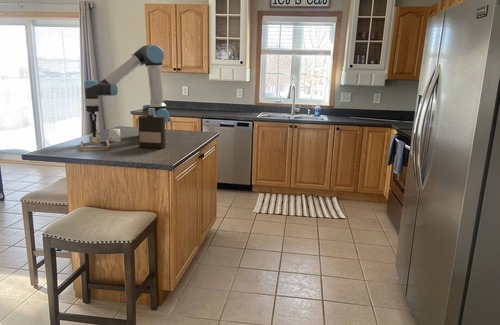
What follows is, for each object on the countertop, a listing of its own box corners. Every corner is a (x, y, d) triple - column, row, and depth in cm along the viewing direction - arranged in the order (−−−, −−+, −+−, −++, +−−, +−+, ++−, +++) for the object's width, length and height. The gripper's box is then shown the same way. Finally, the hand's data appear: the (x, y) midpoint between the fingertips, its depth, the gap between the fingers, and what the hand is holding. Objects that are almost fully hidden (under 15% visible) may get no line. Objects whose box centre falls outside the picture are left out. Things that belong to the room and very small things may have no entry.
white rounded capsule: (109, 140, 247) (108, 128, 245) (120, 139, 250) (119, 128, 248) (110, 142, 241) (109, 130, 239) (121, 141, 244) (120, 130, 242)
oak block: (89, 142, 238) (89, 134, 237) (99, 142, 240) (98, 134, 239) (89, 144, 233) (89, 136, 231) (99, 143, 235) (99, 136, 234)
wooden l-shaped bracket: (81, 144, 231) (80, 141, 230) (108, 143, 238) (108, 140, 237) (80, 151, 213) (80, 147, 213) (110, 149, 220) (110, 146, 219)
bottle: (142, 145, 236) (140, 107, 229) (166, 146, 235) (165, 108, 229) (138, 148, 228) (136, 108, 222) (163, 149, 228) (162, 109, 221)
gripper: (85, 104, 231) (88, 140, 237) (86, 106, 220) (88, 144, 226) (98, 104, 234) (100, 139, 240) (99, 106, 223) (101, 143, 229)
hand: (94, 141), depth 233 cm, fingers closed
